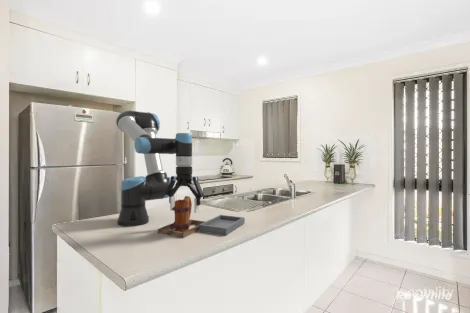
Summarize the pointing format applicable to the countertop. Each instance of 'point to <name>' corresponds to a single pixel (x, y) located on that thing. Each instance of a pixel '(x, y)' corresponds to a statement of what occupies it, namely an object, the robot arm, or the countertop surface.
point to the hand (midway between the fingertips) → (184, 211)
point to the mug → (182, 214)
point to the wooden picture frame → (167, 231)
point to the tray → (222, 224)
